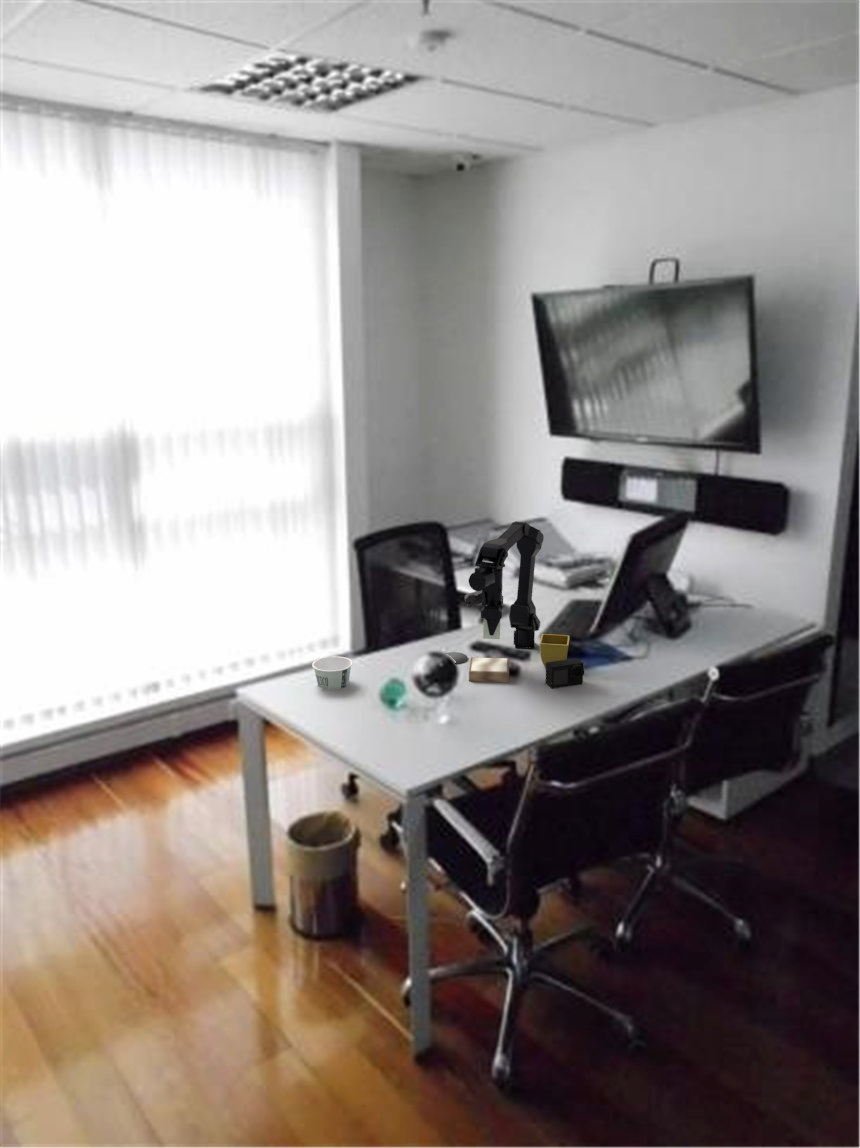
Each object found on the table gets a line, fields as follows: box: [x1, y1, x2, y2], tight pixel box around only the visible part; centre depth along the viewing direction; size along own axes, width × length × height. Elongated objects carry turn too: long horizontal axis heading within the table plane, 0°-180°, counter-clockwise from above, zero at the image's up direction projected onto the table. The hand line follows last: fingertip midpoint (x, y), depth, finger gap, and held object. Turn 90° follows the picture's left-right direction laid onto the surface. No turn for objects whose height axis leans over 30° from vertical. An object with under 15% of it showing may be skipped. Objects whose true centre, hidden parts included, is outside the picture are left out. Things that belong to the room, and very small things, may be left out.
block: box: [482, 618, 501, 640], centre depth 271 cm, size 5×5×6 cm
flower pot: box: [539, 633, 571, 669], centre depth 275 cm, size 9×9×9 cm
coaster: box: [444, 651, 468, 665], centre depth 283 cm, size 9×9×1 cm
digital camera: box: [545, 657, 585, 689], centre depth 261 cm, size 10×5×7 cm, turn 108°
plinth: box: [468, 656, 510, 683], centre depth 270 cm, size 12×12×3 cm
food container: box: [311, 655, 353, 690], centre depth 264 cm, size 12×12×6 cm
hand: (491, 632), depth 272 cm, fingers closed on block, 5 cm apart
